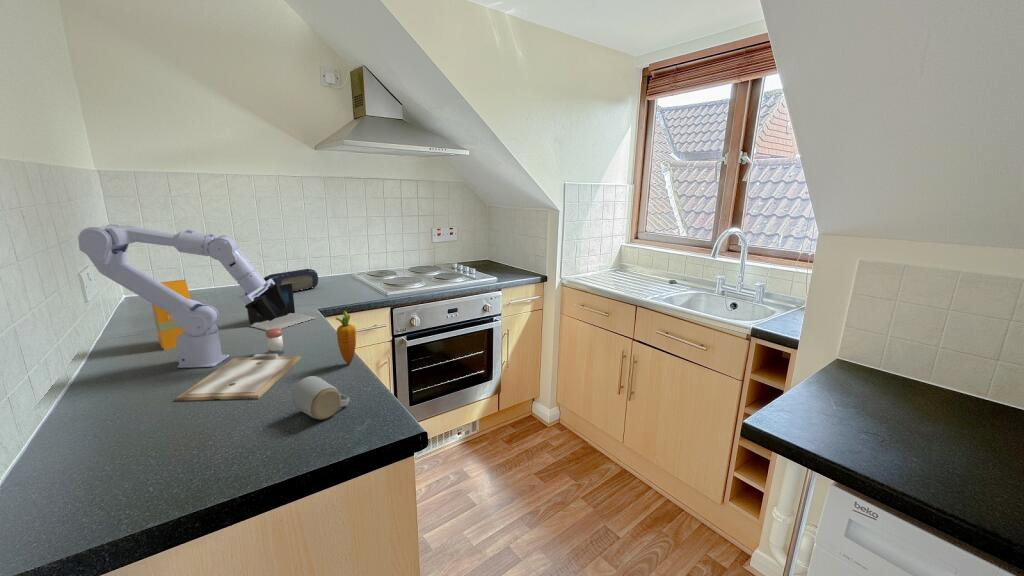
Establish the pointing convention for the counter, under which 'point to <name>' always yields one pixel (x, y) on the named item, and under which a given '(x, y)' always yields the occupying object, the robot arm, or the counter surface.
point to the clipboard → (241, 378)
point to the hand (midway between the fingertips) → (278, 313)
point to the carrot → (346, 338)
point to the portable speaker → (296, 278)
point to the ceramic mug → (317, 398)
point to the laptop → (278, 312)
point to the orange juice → (169, 317)
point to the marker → (275, 341)
